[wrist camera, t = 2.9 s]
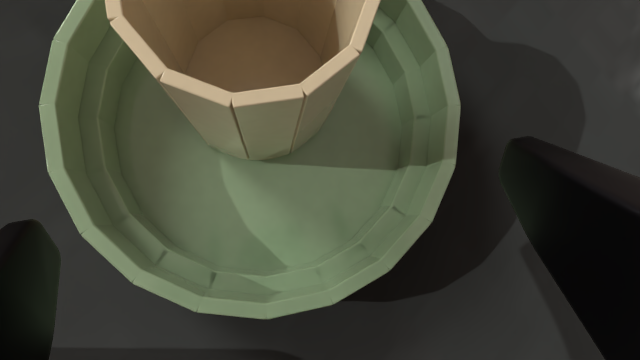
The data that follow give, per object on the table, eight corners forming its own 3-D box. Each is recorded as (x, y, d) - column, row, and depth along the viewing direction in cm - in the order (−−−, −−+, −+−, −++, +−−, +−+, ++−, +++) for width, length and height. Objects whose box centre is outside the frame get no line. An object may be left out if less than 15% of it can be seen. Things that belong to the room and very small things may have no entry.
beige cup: (316, 8, 21) (353, -164, 12) (342, 147, 20) (403, 83, 11) (170, 25, 20) (82, -148, 11) (193, 172, 20) (122, 123, 10)
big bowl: (484, 127, 22) (534, 105, 18) (268, 371, 19) (268, 412, 15) (259, -88, 22) (257, -162, 18) (12, 130, 19) (-60, 104, 15)
